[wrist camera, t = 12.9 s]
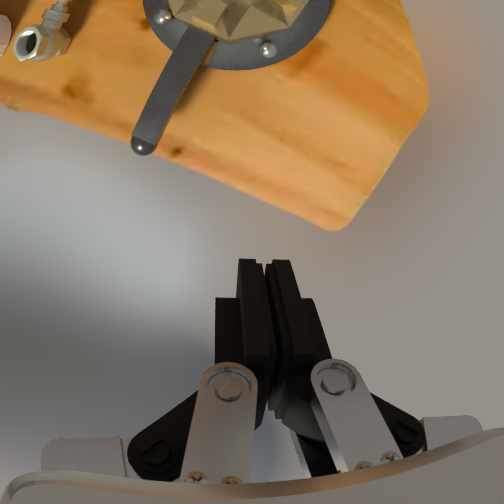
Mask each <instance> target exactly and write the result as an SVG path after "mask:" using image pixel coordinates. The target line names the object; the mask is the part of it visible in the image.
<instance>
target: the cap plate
mask: <svg viewBox="0 0 504 504" xmlns="http://www.w3.org/2000/svg"><path fill="white" fill-rule="evenodd" d="M330 2H331V0H309V1H308V3H307V4H306V5H305V7H304V8H303V9H302V11H301V12H300V14H299V15H298V16H297V18H296V19H295V21H294V22H293V24H292V25H291V26H290V27H289V28H288V29H286V30H285V31H283V32H281V33H280V34H276V35H271V36H266V37H261V38H257V39H252V40H248V41H244V42H240V43H236V44H232V45H229V43H228V45H226V44H224V43H222V42H220V41H218V40H216V39H215V40H214V42H213V44H212V45H211V47H210V48H209V50H208V52H207V53H206V55H205V57H204V58H203V60H202V62H201V64H200V65H202V66H206V67H210V68H214V69H222V70H250V69H256V68H261V67H265V66H269V65H272V64H275V63H278V62H280V61H282V60H285V59H287V58H288V57H290V56H292V55H294V54H296V53H297V52H298V51H300V50H301V49H302V48H304V47H305V46H306V45H307V44H308V43H309V42H310V41H311V40H312V39H313V38H314V37H315V36H316V34H317V33H318V32H319V31H320V29H321V27H322V25H323V24H324V22H325V20H326V17H327V14H328V11H329V7H330ZM143 6H144V11H145V15H146V17H147V20H148V22H149V25H150V26H151V28H152V30H153V31H154V33H155V34H156V35H157V37H158V38H159V39H160V40H161V41H162V42H163V43H164V44H165V45H166V46H167V47H168V48H169V49H170V50H172V51H174V49H175V48H176V46H177V44H178V42H179V41H180V39H181V37H182V36H183V34H184V32H185V31H186V29H187V26H184V25H182V24H181V23H180V22H179V21H178V20H177V19H176V18H175V17H174V16H173V14H172V10H171V7H170V4H169V1H168V0H143Z"/></svg>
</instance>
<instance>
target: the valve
mask: <svg viewBox="0 0 504 504" xmlns="http://www.w3.org/2000/svg"><path fill="white" fill-rule="evenodd" d="M68 1H70V2H72V0H58V1H57V3H56V4H52V6H51V8H50V9H45V11H44V13H43V15H42V18H44V19H43V21H42V24H41V25H33V26H30V27H27V28H25V29H23V30H21V31H20V32H19V33H18V35H17V37H16V40H15V43H14V46H13V51H14V53H15V55H16V57H17V58H18V59H19V60H20V61H29V60H32V61H34V62H44V61H47V60H49V59H53V58H56V57H59V56H62V55H65V54H66V52H67V49H68V47H69V45H70V43H71V40H72V38H71V37H70V35H69V34H68V32H67V31H66V30H65V28H61V26H62V24H63V23H66V22H67V20H68V18H69V16H70V14H68V13H66V12H67V10H68V7H67V6H66V5H67V3H68Z"/></svg>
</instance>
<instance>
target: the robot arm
mask: <svg viewBox="0 0 504 504" xmlns="http://www.w3.org/2000/svg"><path fill="white" fill-rule="evenodd" d="M215 305H216V307H215V309H216V310H215V365H213V366H211V367H210V368H208V369H207V370H206V372H204V374H203V376H202V378H201V381H200V386H199V390H198V391H196V392H195V393H194V394H192V395H191V396H190V397H188V398H187V399H186V400H185V401H183V402H182V403H180V404H179V405H178V406H176V407H175V408H173V409H172V410H171V411H169V412H168V413H167V414H165V415H164V416H162V417H161V418H160V419H158V420H157V421H155V422H154V423H153V424H151V425H150V426H148V427H147V428H145V429H144V430H142V431H141V432H140V433H138V434H137V435H136V436H135V437H134V438H124V439H121V438H120V436H116V437H98V438H59V439H53V440H51V441H50V442H48V443H47V444H46V445H45V447H44V448H43V450H42V454H41V471H38V472H32V473H28V474H24V475H21V476H19V477H17V478H15V479H13V480H12V481H11V482H10V483H9V484H8V485H7V486H6V488H5V490H4V492H3V494H2V496H1V499H0V504H504V428H495V429H489V430H485V431H483V429H482V427H481V424H480V423H479V421H478V420H477V419H476V418H474V417H472V416H467V415H464V416H448V417H423V418H422V419H421V420H417V419H416V418H415V417H413V416H411V415H409V414H408V413H406V412H404V411H402V410H400V409H399V408H397V407H395V406H393V405H391V404H390V403H388V402H386V401H384V400H382V399H381V398H379V397H377V396H375V395H374V394H372V393H370V392H369V390H368V388H367V387H366V385H365V383H364V381H363V379H362V377H361V375H360V374H359V372H358V371H357V370H356V368H355V367H354V366H352V365H351V364H350V363H348V362H346V361H343V360H339V359H332V356H331V353H330V350H329V347H328V344H327V340H326V337H325V334H324V331H323V328H322V325H321V322H320V319H319V316H318V313H317V309H316V307H315V304H314V301H313V299H311V298H301V296H300V293H299V289H298V286H297V283H296V279H295V276H294V272H293V269H292V266H291V263H290V260H272V264H266V268H265V276H264V272H263V267H262V264H261V263H256V259H239V263H238V276H237V291H236V298H216V303H215ZM266 403H268V409H269V410H274V412H275V419H282V423H283V424H284V425H286V426H287V427H288V428H290V435H291V438H292V441H293V444H294V447H295V450H296V452H297V455H298V458H299V461H300V464H301V467H302V469H303V472H304V475H305V478H306V479H298V480H289V481H279V482H266V483H250V474H251V462H252V451H253V440H254V431H255V430H256V429H257V428H258V427H259V426H260V425H261V422H262V419H263V415H264V411H265V407H266Z"/></svg>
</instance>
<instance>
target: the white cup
mask: <svg viewBox="0 0 504 504" xmlns="http://www.w3.org/2000/svg"><path fill="white" fill-rule="evenodd" d="M11 34H12V30H11V22H10V20H9V19H8V17H7V16H6V15H2V14H0V57H1V56H2V55H3V53H4V52H5V50H6V48H7V46H8V45H9V41H10V37H11Z"/></svg>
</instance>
